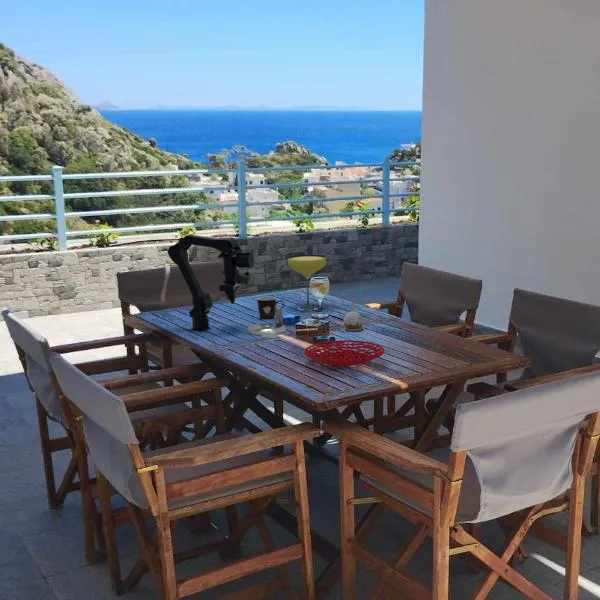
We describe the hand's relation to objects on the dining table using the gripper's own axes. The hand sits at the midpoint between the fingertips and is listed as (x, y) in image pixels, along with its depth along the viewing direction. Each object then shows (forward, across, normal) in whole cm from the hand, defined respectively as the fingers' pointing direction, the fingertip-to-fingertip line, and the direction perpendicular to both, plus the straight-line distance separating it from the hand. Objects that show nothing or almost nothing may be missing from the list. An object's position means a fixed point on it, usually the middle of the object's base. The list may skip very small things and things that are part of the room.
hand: (232, 303), depth 350 cm
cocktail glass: (+13, +47, -24) cm, 55 cm away
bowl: (+14, -46, -53) cm, 72 cm away
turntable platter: (+12, -3, -15) cm, 19 cm away
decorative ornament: (+14, +6, -50) cm, 53 cm away
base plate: (+13, -3, -15) cm, 20 cm away
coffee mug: (+13, +22, -11) cm, 28 cm away
